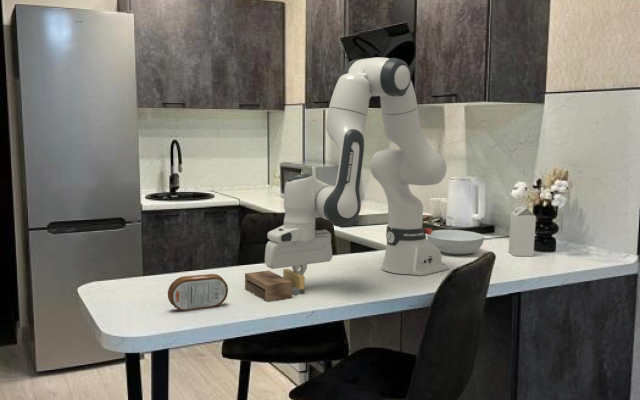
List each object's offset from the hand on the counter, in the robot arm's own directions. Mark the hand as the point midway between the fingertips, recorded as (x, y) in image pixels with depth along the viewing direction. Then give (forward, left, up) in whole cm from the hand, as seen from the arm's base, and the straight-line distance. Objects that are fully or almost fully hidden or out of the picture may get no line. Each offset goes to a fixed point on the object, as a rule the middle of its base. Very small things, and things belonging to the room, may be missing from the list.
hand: (299, 280), depth 170 cm
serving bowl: (-77, -18, -3) cm, 79 cm away
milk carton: (-97, -4, -3) cm, 97 cm away
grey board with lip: (+7, 0, -3) cm, 7 cm away
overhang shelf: (+10, 0, -3) cm, 10 cm away
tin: (+31, +4, -3) cm, 31 cm away
